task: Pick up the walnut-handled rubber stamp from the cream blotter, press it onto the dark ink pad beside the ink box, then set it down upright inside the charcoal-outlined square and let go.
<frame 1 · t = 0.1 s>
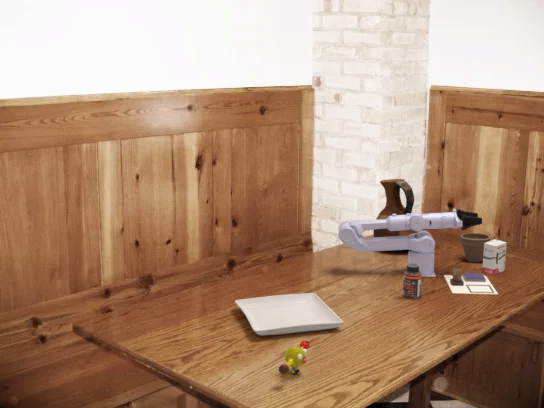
hand: (479, 218, 245), 22 cm above the table, tool horizontal, fingers open, 7 cm apart
ink pad: (473, 279, 244), resting on blotter
blotter: (469, 285, 238), on the table
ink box: (493, 273, 253), on the table
toy figure: (295, 373, 172), on the table
square plate: (286, 321, 208), on the table
supplement bottle: (411, 298, 227), on the table
stamp: (456, 283, 238), point 1 cm above the table, touching blotter
flower pot: (474, 261, 269), on the table
ceramic pitcher: (396, 249, 286), on the table
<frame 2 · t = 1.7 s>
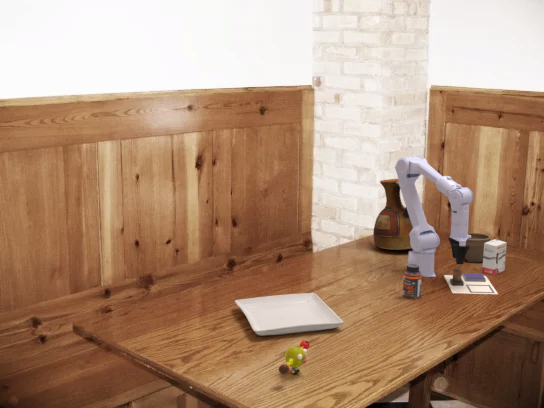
hand: (457, 260, 237), 9 cm above the table, tool pointing down, fingers open, 7 cm apart
nothing on the table moved.
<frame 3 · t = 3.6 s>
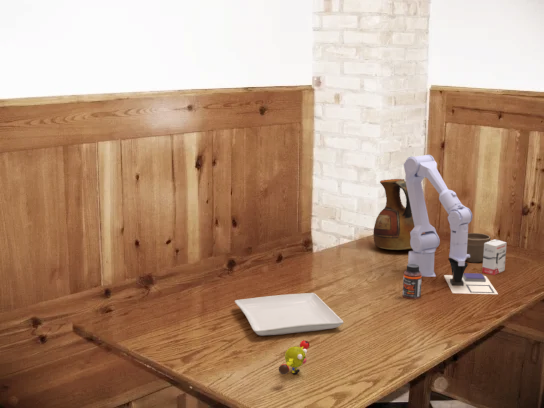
hand: (456, 280, 238), 2 cm above the table, tool pointing down, fingers closed on stamp, 3 cm apart
stamp: (456, 283, 238), point 1 cm above the table, touching blotter, gripper
everything else where it was.
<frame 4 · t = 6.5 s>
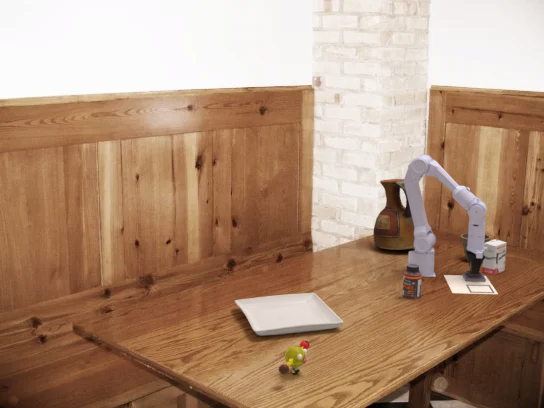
hand: (474, 272, 243), 3 cm above the table, tool pointing down, fingers closed on stamp, 3 cm apart
stamp: (473, 275, 243), point 2 cm above the table, touching gripper, ink pad
everything else where it was.
when the fingers open (2 cm above the table, at t = 9.7 s): stamp stays where it is, resting on blotter.
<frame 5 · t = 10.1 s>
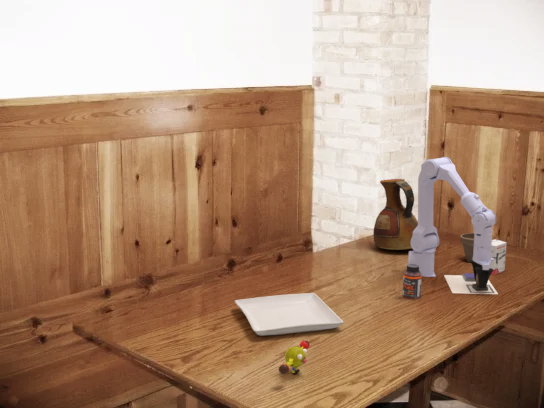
hand: (480, 284, 232), 2 cm above the table, tool pointing down, fingers open, 7 cm apart
stamp: (480, 288, 233), point 1 cm above the table, touching blotter
everything else where it was.
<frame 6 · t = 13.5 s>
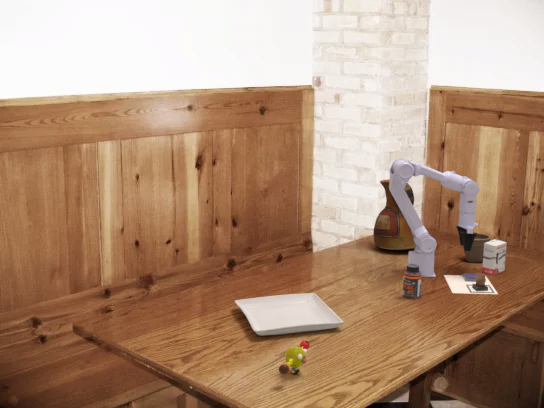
hand: (465, 248, 250), 10 cm above the table, tool pointing down, fingers open, 7 cm apart
nothing on the table moved.
at the end: stamp inside the target area (0.0 cm from its centre), point 0.6 cm above the table; stamp tilted 0°; the gripper is holding nothing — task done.
